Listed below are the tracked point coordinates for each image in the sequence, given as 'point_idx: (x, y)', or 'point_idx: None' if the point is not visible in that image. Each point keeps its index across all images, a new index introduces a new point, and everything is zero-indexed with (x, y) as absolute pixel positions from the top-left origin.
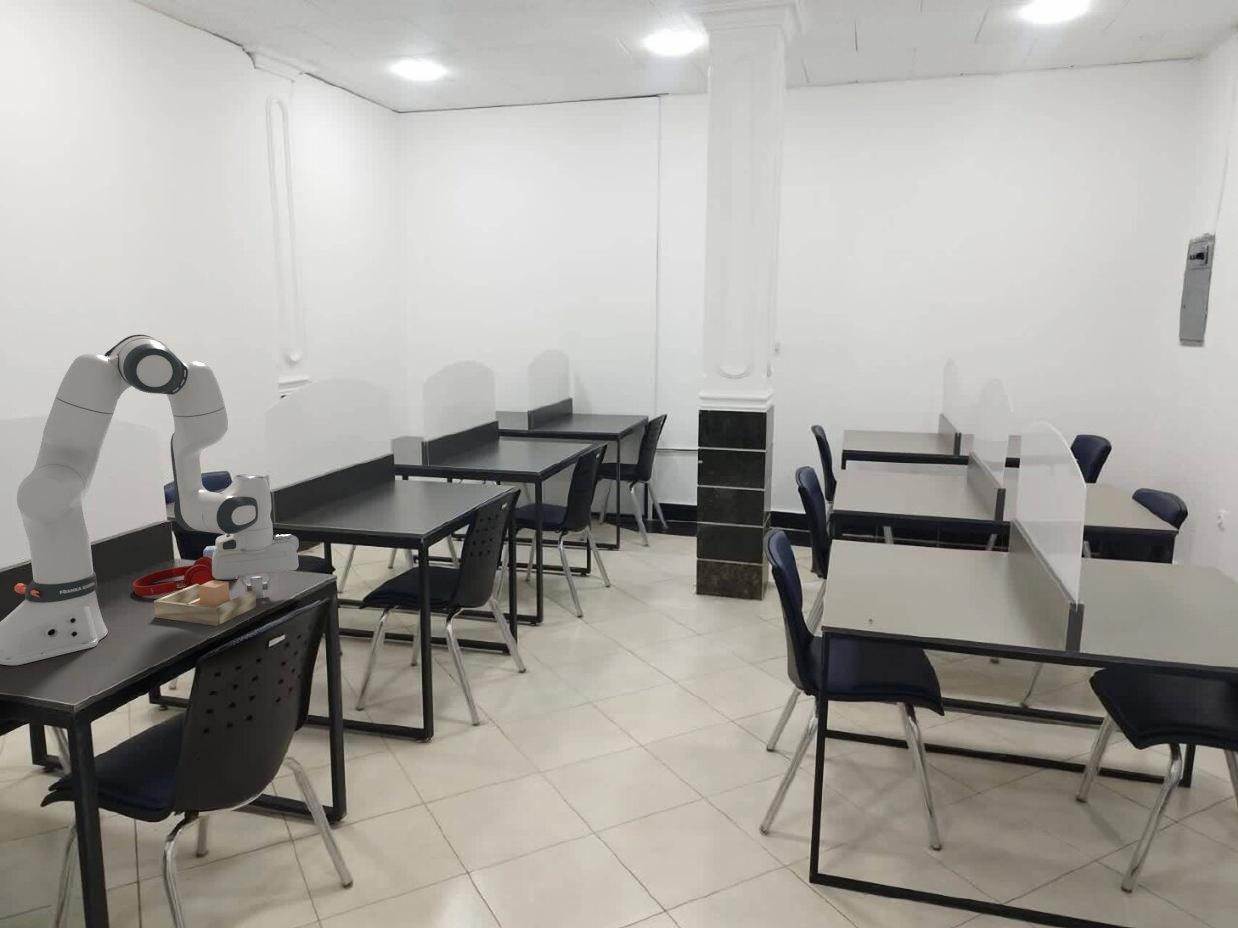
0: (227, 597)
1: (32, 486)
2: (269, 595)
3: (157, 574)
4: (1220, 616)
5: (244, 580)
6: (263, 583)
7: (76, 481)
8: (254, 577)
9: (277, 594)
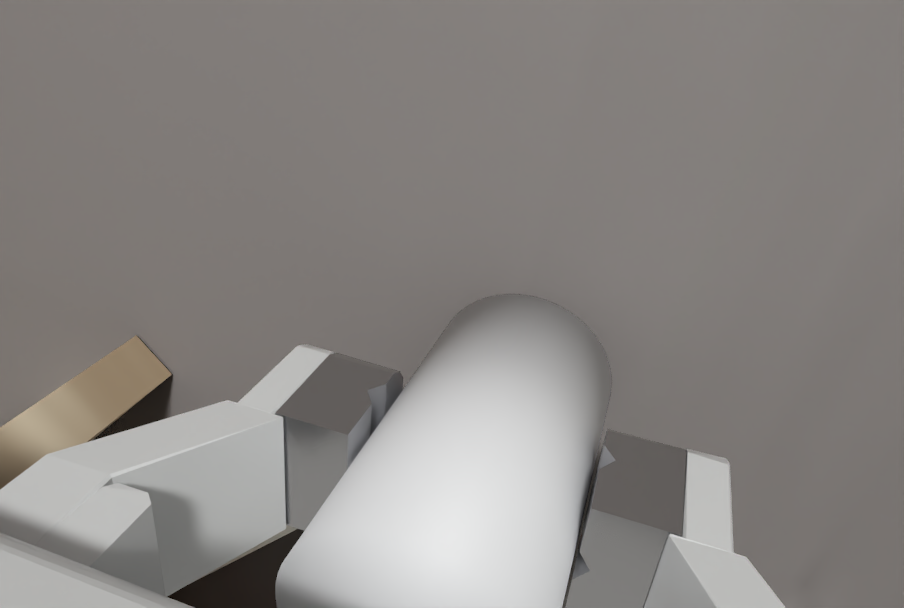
0: None
1: None
2: (707, 418)
3: None
4: None
5: (187, 471)
6: (580, 591)
7: None
8: (371, 573)
9: (845, 456)
